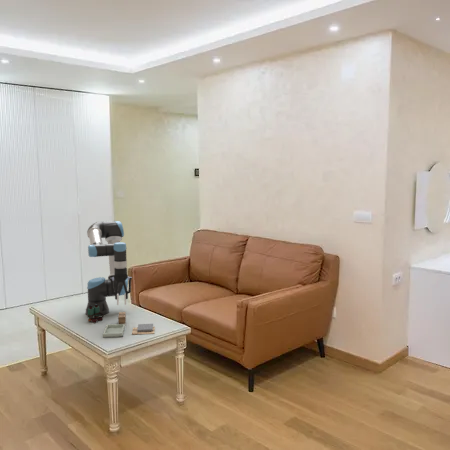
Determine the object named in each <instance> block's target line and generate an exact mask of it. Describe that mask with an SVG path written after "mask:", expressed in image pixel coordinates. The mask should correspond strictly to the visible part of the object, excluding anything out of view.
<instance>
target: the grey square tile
mask: <svg viewBox="0 0 450 450" xmlns="http://www.w3.org/2000/svg"><path fill="white" fill-rule="evenodd" d="M137 327H138V328H137ZM137 327H136V328H137V332H146V331H153V327H154V323H138V325H137Z"/></svg>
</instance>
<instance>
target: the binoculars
mask: <svg viewBox="0 0 450 450" xmlns="http://www.w3.org/2000/svg"><path fill="white" fill-rule="evenodd" d="M89 307H90V308H89V309H88V315H87V318H88V322H91V323H97V322H101V321H103V320H104V319H103V318H104V317H105V316H104V315H105V314H103V313H100V309H99V306H98V303H96V304H95V307H93V306H92V305H89ZM92 307H93V308H92ZM100 314H101V315H100Z"/></svg>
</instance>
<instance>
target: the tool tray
mask: <svg viewBox="0 0 450 450" xmlns="http://www.w3.org/2000/svg"><path fill="white" fill-rule="evenodd" d="M125 330H126V324H118V323H115V324H112V323H111V324H106V325H105V328H104V330H103V333H102V338H104V339H106V338H123V336H124V332H125Z"/></svg>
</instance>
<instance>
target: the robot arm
mask: <svg viewBox="0 0 450 450" xmlns="http://www.w3.org/2000/svg"><path fill="white" fill-rule="evenodd" d="M86 235H87V237H88V239H89V244H90V245H88V246H87V250H88V251H87V252H88V256H89V257H90V258H101V257H108V264H109V275H108V277H107V279H106V277H103V276H102V277H101V276H99V277H94V278H91V279H90V280H88V281H87V287H86V289H87V305H86V308H85V315H87V316H88V309H89V308H90V307H89V305H92V306H93V307H95V304H96V303H98V306H99V309H100V313H103V314H104V315H107V314H108V313H110V308H109V305H108V303H107V298H108V297H114V299H115V300H116V305H117V306H119V304H120V302H119V301H120V299H119V298H120V297H121V296H124V306H126V305H127V300H128V298H129V294H130V293H131V292H132V290H131V289H132V279H133V277H132V276H128V268H127V266H128V260H127V244H126V242H121V241H122V239H123V238H124V236H125V232H124V227H123V223H122V222H121V221H120V220H110V221H109V220H108V221H107V220H106V221H96V222H95V223H92V224H91V225H90V226H89V227H88V229H87V231H86ZM102 239H105V242H106V244H104V243H103V240H102ZM93 307H92V308H93ZM99 316H102V315H101V314H100V315H99Z"/></svg>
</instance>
